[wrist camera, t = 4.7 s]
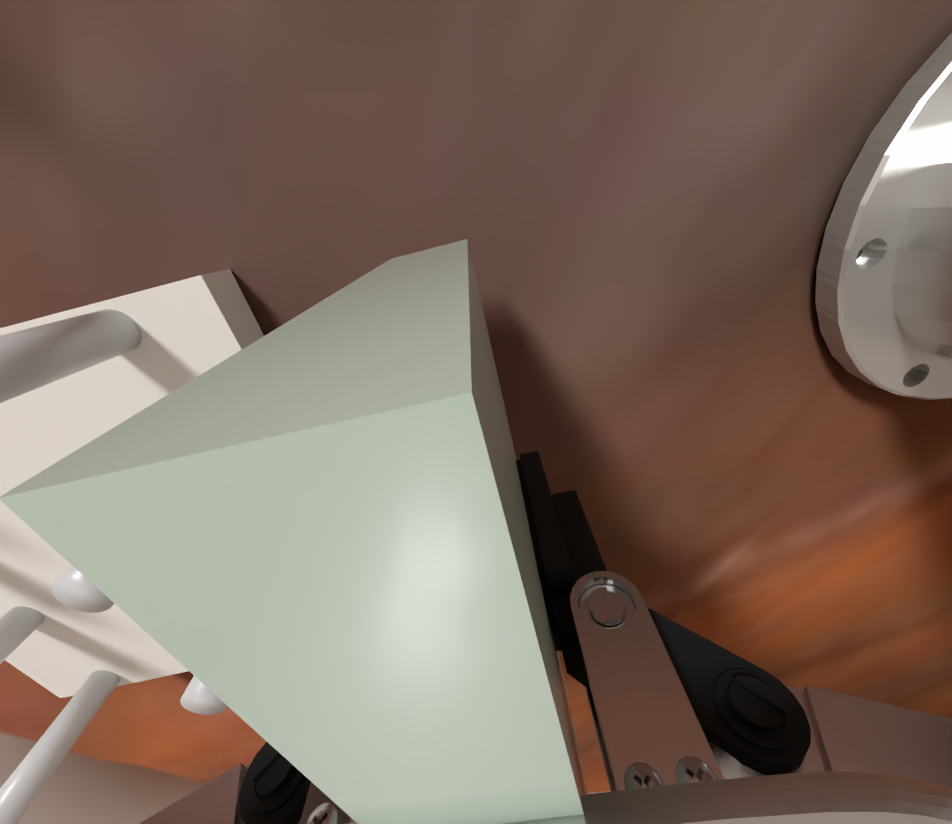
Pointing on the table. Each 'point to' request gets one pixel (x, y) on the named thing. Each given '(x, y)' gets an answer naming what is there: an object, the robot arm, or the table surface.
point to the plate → (343, 552)
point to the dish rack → (61, 433)
